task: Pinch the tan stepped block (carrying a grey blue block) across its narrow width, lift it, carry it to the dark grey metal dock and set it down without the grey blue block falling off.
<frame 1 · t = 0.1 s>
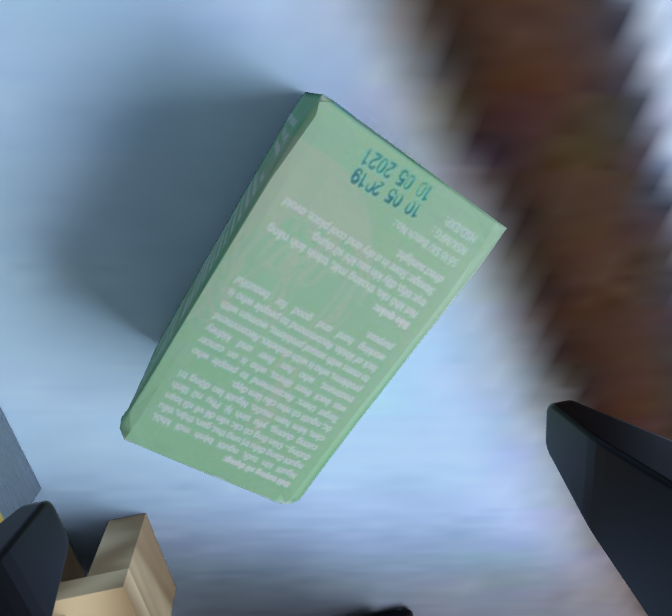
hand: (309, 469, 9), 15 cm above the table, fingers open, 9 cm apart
box: (293, 269, 23), on the table
tan stepped block: (64, 572, 28), on the table, touching grey blue block
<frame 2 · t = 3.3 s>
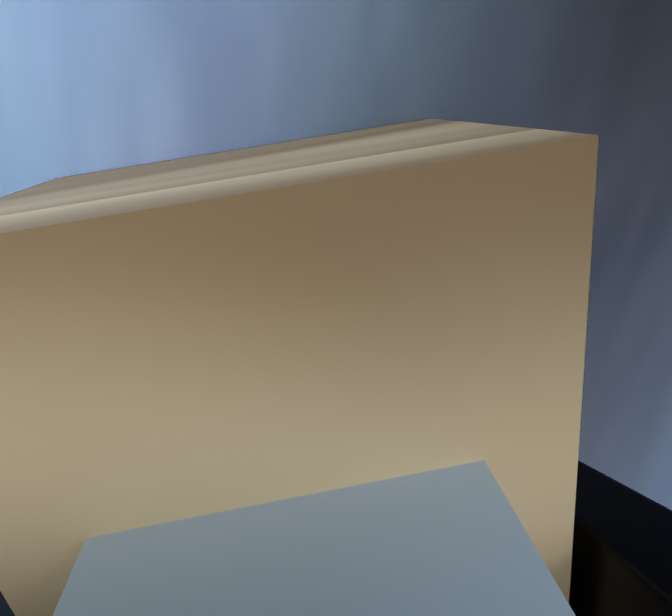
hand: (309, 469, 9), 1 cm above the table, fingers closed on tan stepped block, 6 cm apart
tan stepped block: (305, 429, 10), on the table, touching grey blue block, gripper
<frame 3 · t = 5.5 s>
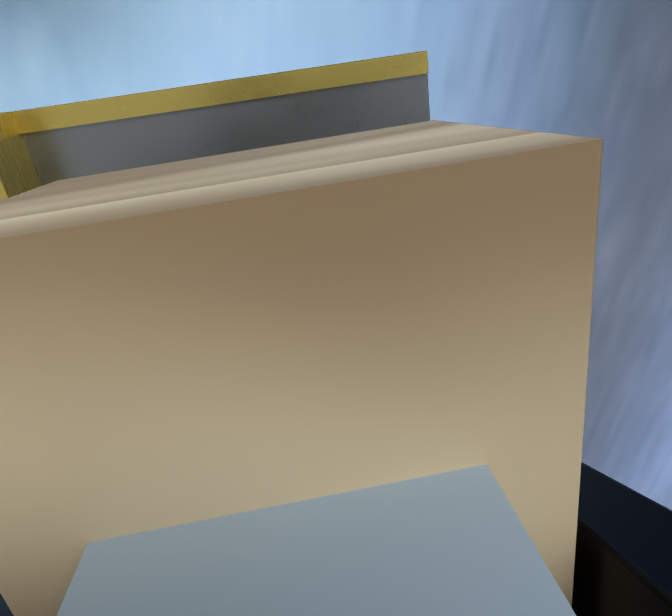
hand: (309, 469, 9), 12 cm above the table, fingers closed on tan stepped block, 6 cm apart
dock: (270, 272, 20), on the table
tan stepped block: (306, 431, 10), point 11 cm above the table, touching grey blue block, gripper
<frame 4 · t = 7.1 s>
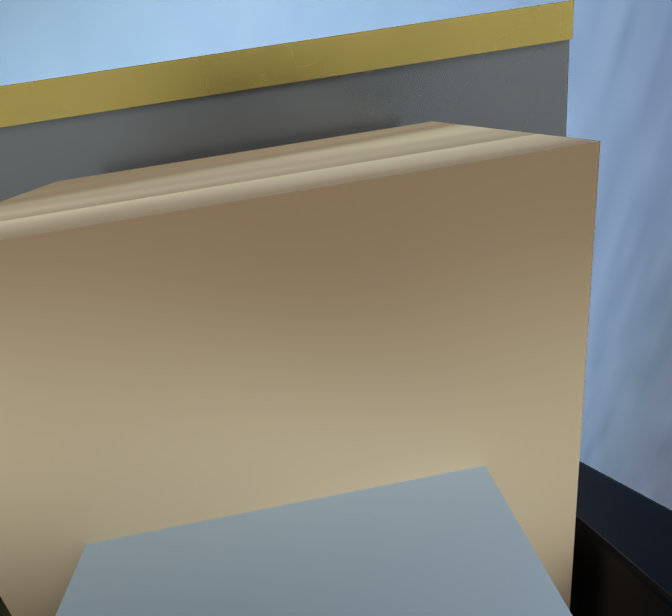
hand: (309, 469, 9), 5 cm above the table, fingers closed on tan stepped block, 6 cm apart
dock: (294, 342, 14), on the table
tan stepped block: (305, 432, 10), point 4 cm above the table, touching grey blue block, gripper
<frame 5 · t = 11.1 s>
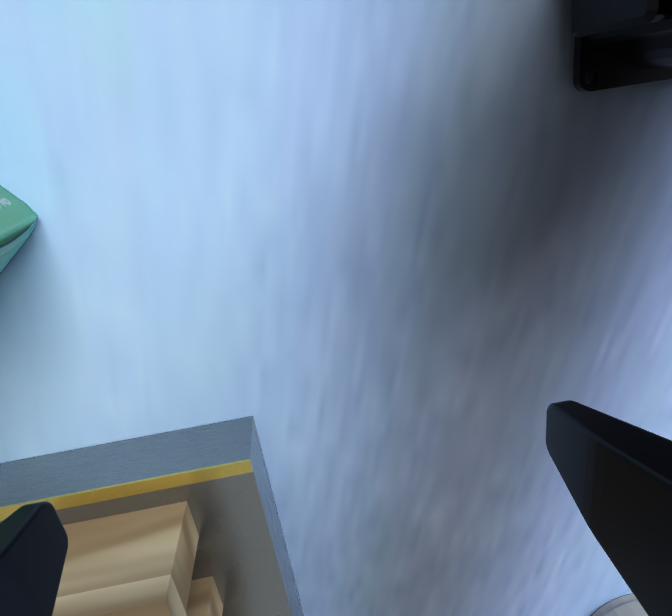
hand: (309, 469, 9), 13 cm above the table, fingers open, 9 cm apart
dock: (165, 550, 25), on the table
tan stepped block: (152, 604, 23), point 3 cm above the table, touching grey blue block, dock
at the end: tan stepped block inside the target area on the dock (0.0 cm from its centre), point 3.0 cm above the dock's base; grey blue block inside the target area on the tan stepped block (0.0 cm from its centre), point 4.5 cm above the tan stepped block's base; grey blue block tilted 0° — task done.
